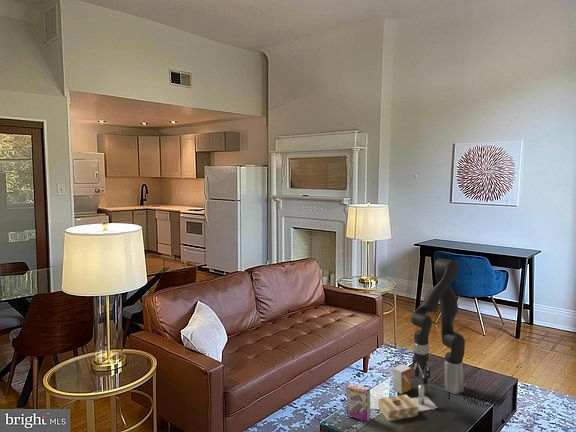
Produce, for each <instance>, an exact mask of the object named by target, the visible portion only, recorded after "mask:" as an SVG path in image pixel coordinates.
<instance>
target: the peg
mask: <svg viewBox="0 0 576 432" xmlns="http://www.w3.org/2000/svg"><path fill="white" fill-rule="evenodd" d="M417 387H418V396H417V397H418V398H419V404H420V405H424V396H425V385H424V384H423V383H419V384H418V386H417Z"/></svg>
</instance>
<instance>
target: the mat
mask: <svg viewBox="0 0 576 432" xmlns="http://www.w3.org/2000/svg"><path fill="white" fill-rule="evenodd" d="M409 398H410V399H411V400H412V401H413V402H414V403H415V404H416V405H417V406H418V413H420V412H421V413H422V412H427V411H432V410H437V409H436V408H438V406H437V405H436V404H435V403H434V402H433V401H432V400H431V399H430V398H429V397H428V396H427V395H424V405H420V404H419V398H418V396H417V397H409ZM431 409H432V410H431ZM438 409H439V408H438ZM426 410H427V411H426Z"/></svg>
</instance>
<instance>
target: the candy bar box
mask: <svg viewBox="0 0 576 432" xmlns="http://www.w3.org/2000/svg"><path fill="white" fill-rule="evenodd" d="M347 415H349V416H352V417H354V418H357V419H356V420H358V419H360V420H359V421H361V420H363V421H362V422H364V421H365V423H368V422H369V421H370V419H371V387H368V386H367V387H366V386H363V385H358V384H357V383H356V384H355V383H351V382H349V384H348V385H346V416H347ZM354 418H353V419H354Z"/></svg>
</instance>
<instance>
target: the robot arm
mask: <svg viewBox="0 0 576 432" xmlns="http://www.w3.org/2000/svg"><path fill="white" fill-rule="evenodd" d="M433 267H434V268H433V269H434V275H435V280H436V284H435V285H434V286H433V287H432V288H430V289H429V290H428V291H427V292H426V295H425V296H424V298H423V300H422V302H421V304H420V305H419V306H418V307H417V309H416V310H415V311H414V312H412V315H411V319H410V320H411V324H412V325H414V326H416V327H419V328H421V329H419V330H415V331H414V337H413V338H414V339H413V340H414V342H413V356H412V363H411V364H412V368H413V369H414V377H417V378H418V377H420V373H421V375H422V384H423V385H424V386H426V385H428V379H430V378H431V366H428V365H427V364H428V361H429V360H430V359H429V358H430V356H429V355H430V353H429V352H430V347H429V346H430V345H429V336H430V332H431V328H432V326H433V320H432V317H431V316H429V315H427V313H434V311H436V308H437V307H438V304H439V309H440V319H441V321H440V322H441V343H442V344H443V345H444V346H445V347H446V348H449V349H450V352H447V353H445V355H444V390H445V391H446V392H448V393H449V392H450V394H456V395H457V394H458V395H459V394H462V393H463V392H464V391H465V375H464V373H463V363H464V362H463V359H464V357H465V348H466V346H465V345H466V343H465V342H466V341H465V338H464V336H463V335H462V334H460V333H458V332H456V331H455V330H454V320H455V318H456V316H457V315H458V312H459V306H458V305H459V304H458V298H457V296H456V293H455V292H454V290H453V288H452V287H451V283H452V282H453V280H454V279H455V278H456V276H457V274H458V272H459V264H458V263H457V262H456V261H455V260H452V259H448V258H447V259H446V258H437V259H436V261H435V263H434V266H433Z"/></svg>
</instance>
